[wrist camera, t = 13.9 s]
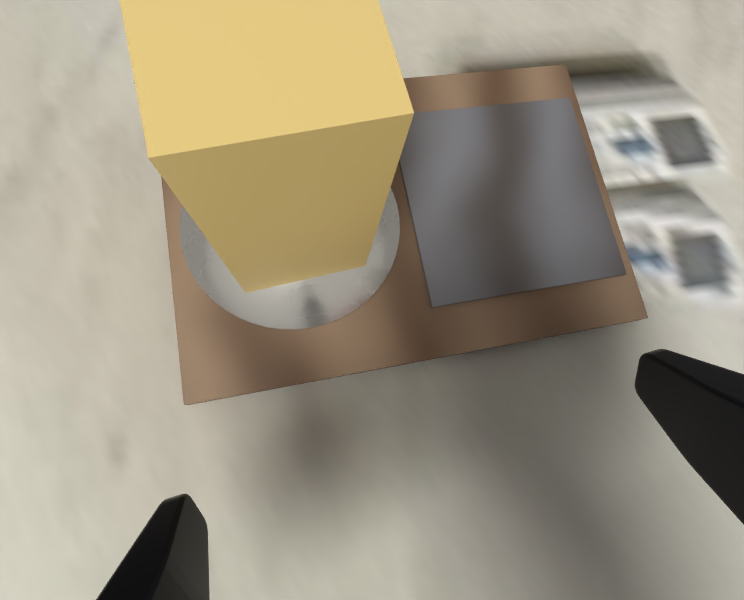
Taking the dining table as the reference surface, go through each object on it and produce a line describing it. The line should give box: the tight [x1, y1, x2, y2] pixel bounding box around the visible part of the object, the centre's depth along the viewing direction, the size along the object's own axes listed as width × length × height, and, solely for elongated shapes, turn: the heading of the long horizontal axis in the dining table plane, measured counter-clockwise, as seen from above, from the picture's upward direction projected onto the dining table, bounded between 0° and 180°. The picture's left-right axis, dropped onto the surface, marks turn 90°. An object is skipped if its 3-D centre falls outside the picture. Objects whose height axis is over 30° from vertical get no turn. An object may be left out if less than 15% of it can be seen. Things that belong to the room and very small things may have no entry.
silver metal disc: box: [180, 187, 400, 330], centre depth 20 cm, size 11×11×4 cm
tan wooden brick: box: [120, 0, 414, 293], centre depth 16 cm, size 6×6×12 cm
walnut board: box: [161, 65, 648, 405], centre depth 23 cm, size 24×16×1 cm, turn 101°
